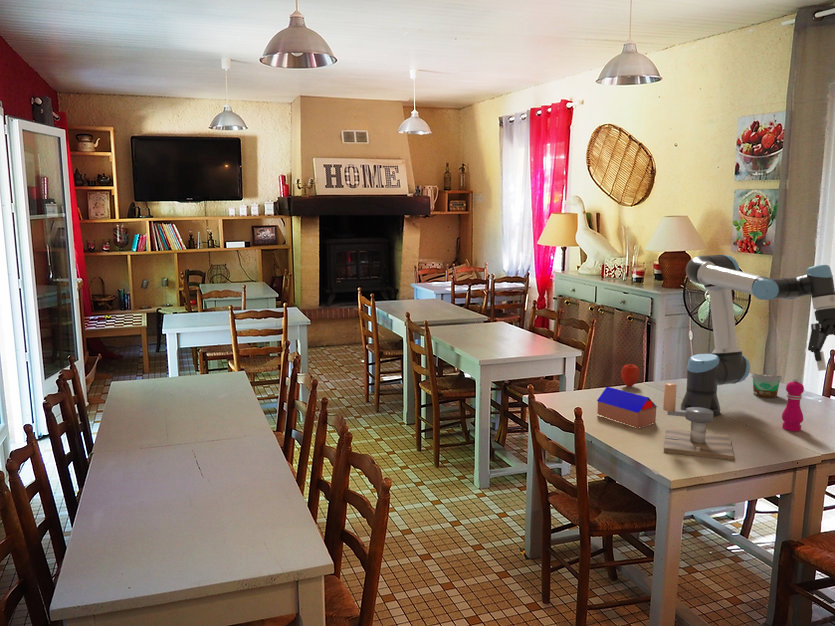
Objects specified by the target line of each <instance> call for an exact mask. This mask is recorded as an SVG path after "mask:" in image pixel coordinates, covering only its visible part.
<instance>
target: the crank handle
mask: <svg viewBox="0 0 835 626" xmlns="http://www.w3.org/2000/svg"><path fill="white" fill-rule="evenodd" d="M677 386H678V385H677V383H673V382H666V383H664V389H663V390H664V391H663V393H664V394H663V406H662V407H663V408H662V410H663V411H665V412H667V416H675V417H684V418H685V419H686V420H687V421H690V422H691V421H692V422H697V423H706V424H709V423H712V422H713V421H714V416H713V411H712V410H710V409H706V408H701V407H690V408H687V409H686V411H685V410H681V409H676V401H677V388H678V387H677Z"/></svg>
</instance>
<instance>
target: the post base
mask: <svg viewBox="0 0 835 626" xmlns="http://www.w3.org/2000/svg"><path fill="white" fill-rule="evenodd" d="M690 422H691V423H690V430H685V429H684V430H683V429H681V430H680V429H673V428H665V431H664V444H663V452H664V453H667V452H668V453H667V454H669V453H670V454H677V455H685V456H692V457H693V456H695V457H700V458H701V457H702V458H703V457H704V458H712V459H718V460H719V459H721V460H729V461H734V459H735V457H734V451H733V447H732V442H731V437H730V435H729V434H723V433H722V434H719V433H711V432H707V423H697V422H692V421H690Z"/></svg>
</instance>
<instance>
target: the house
mask: <svg viewBox="0 0 835 626" xmlns="http://www.w3.org/2000/svg"><path fill="white" fill-rule="evenodd" d="M596 402H597V413H596V414H599V415H602V416H604V417H607V418H610V419H613V420H616V421H619V422H622V423H625V424H628V425H631V426H634V427H636V428H635V429H637V428H638V429H640V428H639V427H642V428H644V427H643V426H645V427H647V426H646V425H648V426H650V425H649V424H651V425H653V424H652V423H654V424H657V423H656V421H657V420H656V419H657V408H658V406H657V405H656V404H655V403H654V402H653V401H652V399H651V398H650V397H647V396H644V395H641V394H636V393H632V392H629V391H625V390H621V389H618V388H614V387H609V386H606V387H605V388H604V390H603V392H601V394H600V396H599V397H598V398H597V399H596Z"/></svg>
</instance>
